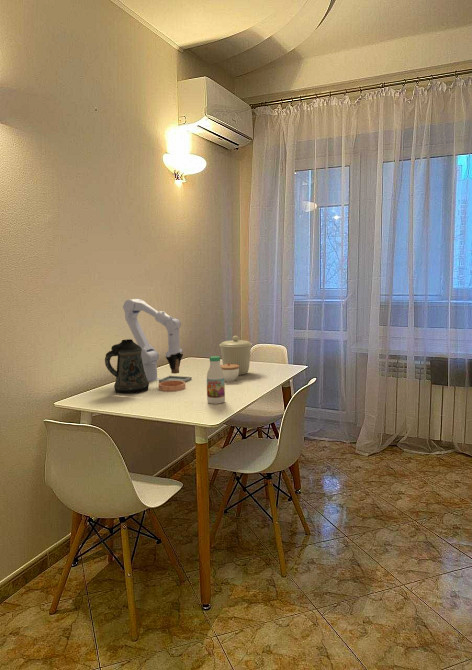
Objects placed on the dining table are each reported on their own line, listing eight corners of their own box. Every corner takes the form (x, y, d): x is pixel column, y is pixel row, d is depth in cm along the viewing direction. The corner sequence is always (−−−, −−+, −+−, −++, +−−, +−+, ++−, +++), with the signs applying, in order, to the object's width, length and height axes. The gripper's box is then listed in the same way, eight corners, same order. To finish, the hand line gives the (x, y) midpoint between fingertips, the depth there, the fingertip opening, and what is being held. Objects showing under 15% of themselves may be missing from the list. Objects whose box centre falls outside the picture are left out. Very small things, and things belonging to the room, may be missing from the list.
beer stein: (156, 389, 253) (153, 338, 249) (128, 398, 236) (126, 343, 233) (130, 386, 261) (128, 336, 258) (102, 394, 244) (99, 342, 241)
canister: (247, 377, 274) (246, 338, 271) (215, 376, 280) (214, 337, 277) (256, 371, 291) (256, 334, 288) (226, 369, 297) (225, 333, 294)
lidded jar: (237, 382, 262) (236, 364, 261) (216, 382, 264) (216, 364, 263) (241, 378, 273) (240, 360, 271) (221, 378, 275) (220, 360, 274)
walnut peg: (169, 373, 265) (169, 359, 265) (173, 371, 269) (173, 358, 268) (176, 373, 264) (176, 360, 263) (180, 372, 267) (180, 358, 267)
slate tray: (159, 383, 265) (158, 379, 264) (169, 379, 275) (169, 375, 274) (181, 385, 260) (181, 381, 259) (191, 380, 270) (191, 377, 269)
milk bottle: (207, 400, 229) (205, 355, 226) (224, 399, 230) (223, 354, 227) (207, 404, 221) (206, 358, 219) (225, 403, 222) (224, 357, 219)
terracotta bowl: (153, 391, 249) (153, 385, 248) (167, 385, 260) (167, 379, 260) (177, 392, 244) (177, 387, 243) (189, 387, 255) (189, 381, 255)
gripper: (173, 344, 256) (174, 371, 258) (187, 340, 270) (188, 366, 271) (161, 344, 259) (162, 370, 261) (175, 340, 272) (176, 365, 274)
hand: (175, 368), depth 266 cm, fingers closed on walnut peg, 4 cm apart
